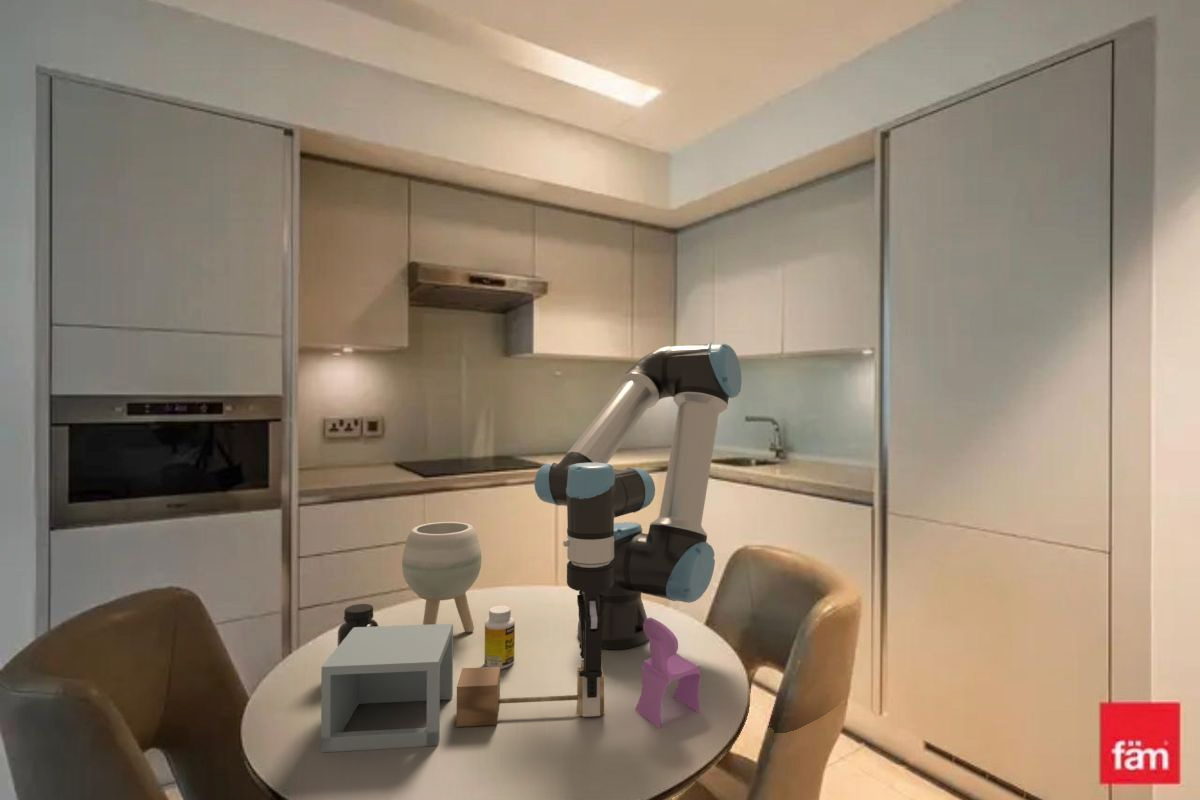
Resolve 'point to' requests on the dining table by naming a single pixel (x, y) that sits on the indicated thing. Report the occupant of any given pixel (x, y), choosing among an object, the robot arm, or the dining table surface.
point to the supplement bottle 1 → (356, 619)
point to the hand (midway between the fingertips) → (590, 707)
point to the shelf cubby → (386, 683)
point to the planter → (442, 566)
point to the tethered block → (483, 696)
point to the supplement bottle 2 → (499, 637)
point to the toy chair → (665, 673)
